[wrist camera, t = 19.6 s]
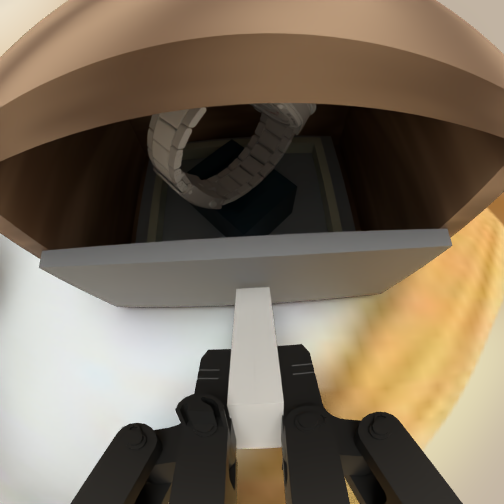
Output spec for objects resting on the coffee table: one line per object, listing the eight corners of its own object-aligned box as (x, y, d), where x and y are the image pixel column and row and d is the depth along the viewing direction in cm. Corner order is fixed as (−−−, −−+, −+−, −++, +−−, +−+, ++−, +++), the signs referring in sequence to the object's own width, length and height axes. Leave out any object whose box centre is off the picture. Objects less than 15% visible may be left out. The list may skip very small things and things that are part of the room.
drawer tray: (117, 306, 18) (38, 267, 10) (139, 156, 22) (104, 83, 15) (380, 293, 18) (452, 245, 10) (344, 144, 22) (369, 66, 14)
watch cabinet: (114, 299, 19) (-78, 169, 3) (137, 153, 24) (69, -1, 8) (384, 285, 19) (563, 127, 3) (347, 141, 24) (393, -24, 8)
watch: (310, 195, 19) (344, 57, 9) (225, 275, 17) (182, 153, 7) (252, 153, 21) (248, 21, 10) (170, 219, 19) (103, 93, 9)
